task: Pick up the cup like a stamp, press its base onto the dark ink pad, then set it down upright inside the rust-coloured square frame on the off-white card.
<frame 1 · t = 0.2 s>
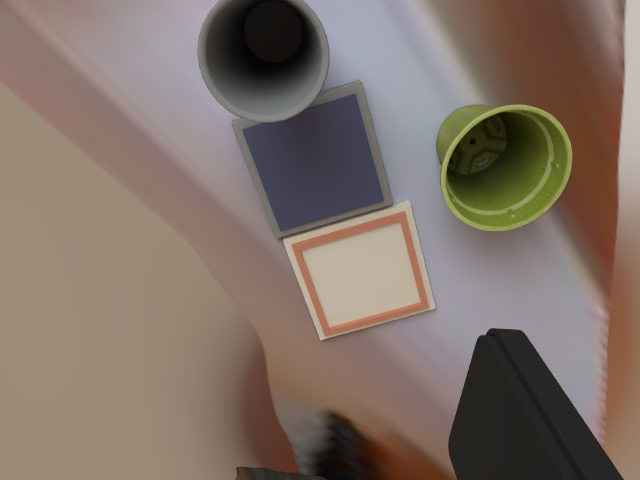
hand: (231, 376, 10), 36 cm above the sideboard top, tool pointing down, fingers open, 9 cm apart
ink pad: (315, 161, 45), on the sideboard top
print card: (361, 272, 50), on the sideboard top
cup: (273, 31, 41), on the sideboard top
plant pot: (469, 138, 45), on the sideboard top
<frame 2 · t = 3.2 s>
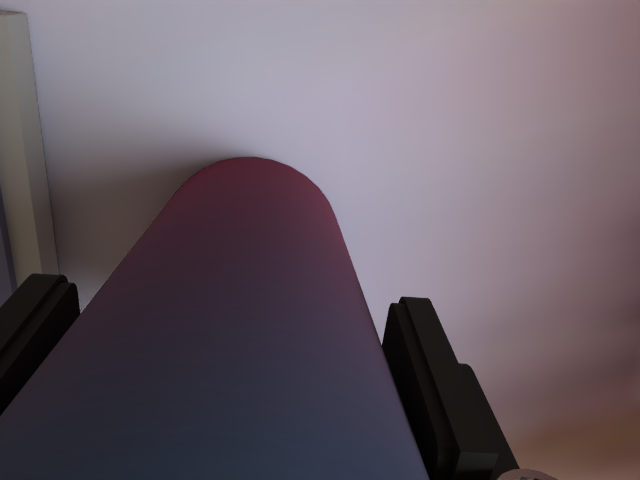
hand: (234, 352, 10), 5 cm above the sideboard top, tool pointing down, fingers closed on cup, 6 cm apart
cup: (252, 237, 15), on the sideboard top, touching gripper
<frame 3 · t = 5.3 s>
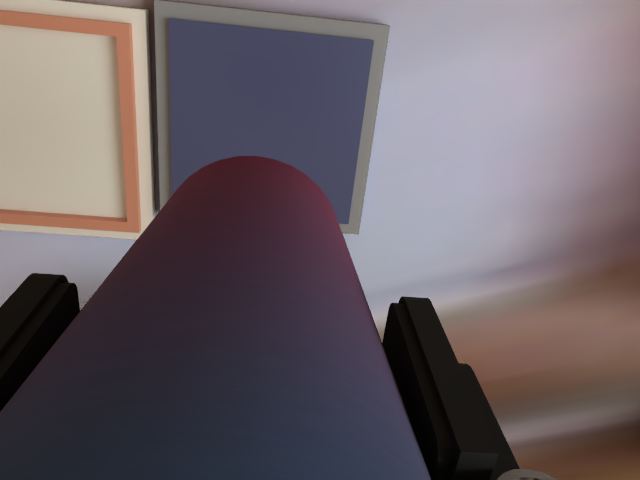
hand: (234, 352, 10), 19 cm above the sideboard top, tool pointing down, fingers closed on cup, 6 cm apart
ink pad: (267, 125, 28), on the sideboard top
print card: (33, 122, 27), on the sideboard top
cup: (252, 236, 15), point 14 cm above the sideboard top, touching gripper
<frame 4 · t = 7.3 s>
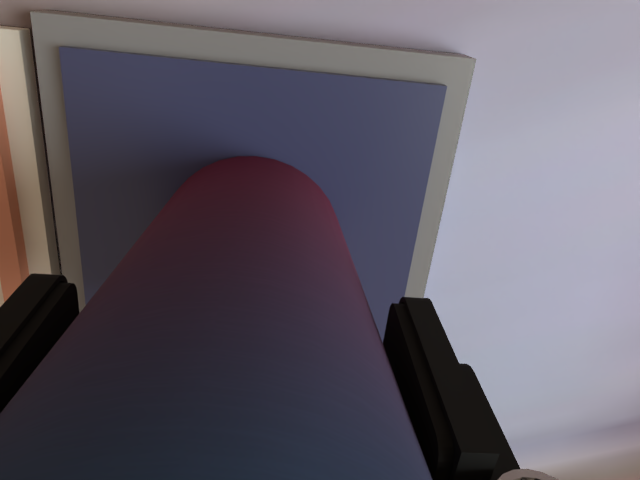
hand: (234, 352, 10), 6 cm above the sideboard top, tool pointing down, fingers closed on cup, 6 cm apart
ink pad: (253, 222, 16), on the sideboard top
cup: (253, 236, 15), point 1 cm above the sideboard top, touching gripper, ink pad
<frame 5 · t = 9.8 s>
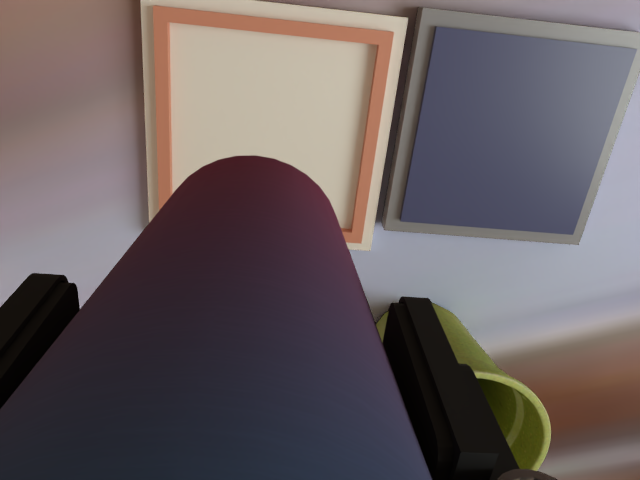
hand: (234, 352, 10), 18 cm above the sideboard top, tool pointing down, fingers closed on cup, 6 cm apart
ink pad: (502, 134, 27), on the sideboard top
print card: (269, 131, 26), on the sideboard top
cup: (252, 236, 15), point 13 cm above the sideboard top, touching gripper
plant pot: (414, 338, 33), on the sideboard top
when the fingers open (7 cm above the sideboard top, at t = 11.8 s): cup drops 1 cm, resting on print card.
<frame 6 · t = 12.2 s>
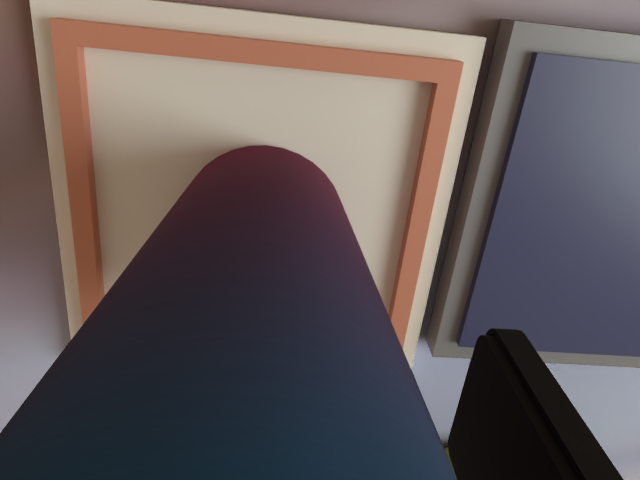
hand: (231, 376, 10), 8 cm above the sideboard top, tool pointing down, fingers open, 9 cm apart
ink pad: (617, 214, 17), on the sideboard top
print card: (255, 214, 17), on the sideboard top
cup: (263, 220, 16), resting on print card
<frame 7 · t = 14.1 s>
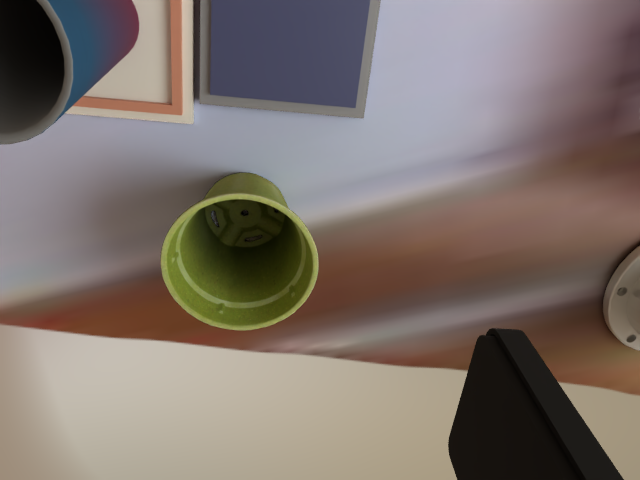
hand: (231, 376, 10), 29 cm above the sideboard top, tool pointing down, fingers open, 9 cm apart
ink pad: (289, 21, 34), on the sideboard top
print card: (95, 17, 33), on the sideboard top
cup: (98, 19, 32), resting on print card
plant pot: (246, 208, 39), on the sideboard top
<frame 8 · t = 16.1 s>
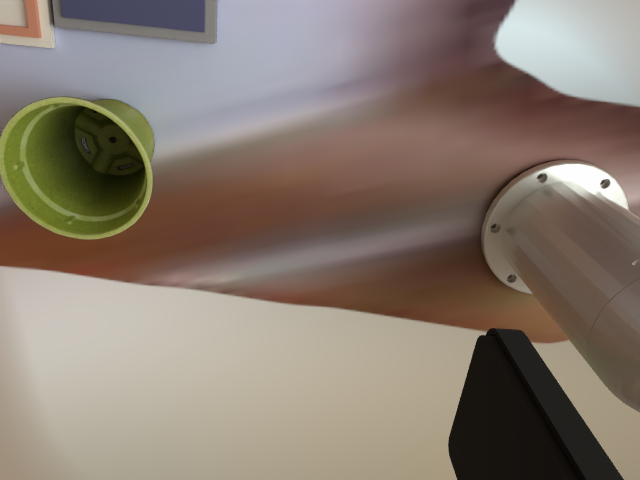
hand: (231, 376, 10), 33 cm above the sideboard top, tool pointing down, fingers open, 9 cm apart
plant pot: (117, 137, 41), on the sideboard top
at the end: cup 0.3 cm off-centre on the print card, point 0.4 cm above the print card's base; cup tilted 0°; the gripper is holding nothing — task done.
